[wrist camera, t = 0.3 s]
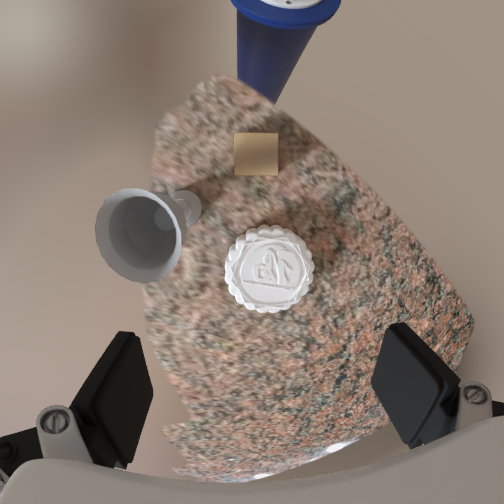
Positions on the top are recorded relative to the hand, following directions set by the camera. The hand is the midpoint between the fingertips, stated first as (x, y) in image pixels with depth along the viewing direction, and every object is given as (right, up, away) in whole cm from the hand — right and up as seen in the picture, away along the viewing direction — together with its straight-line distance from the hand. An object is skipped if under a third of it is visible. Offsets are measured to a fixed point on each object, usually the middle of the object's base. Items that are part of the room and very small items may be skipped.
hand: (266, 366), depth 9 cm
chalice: (-10, +10, +27) cm, 30 cm away
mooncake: (+2, +2, +29) cm, 30 cm away
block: (0, +17, +25) cm, 30 cm away
